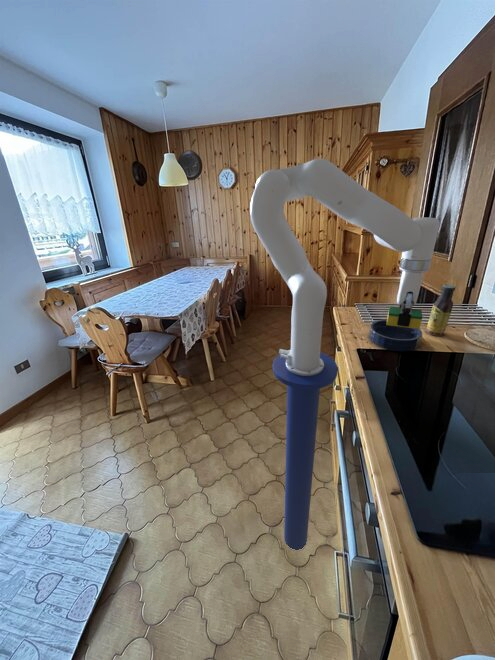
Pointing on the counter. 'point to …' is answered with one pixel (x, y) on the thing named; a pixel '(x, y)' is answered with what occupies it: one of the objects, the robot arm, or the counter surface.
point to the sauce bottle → (441, 311)
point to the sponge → (414, 321)
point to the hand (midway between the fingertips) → (403, 320)
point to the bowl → (394, 336)
